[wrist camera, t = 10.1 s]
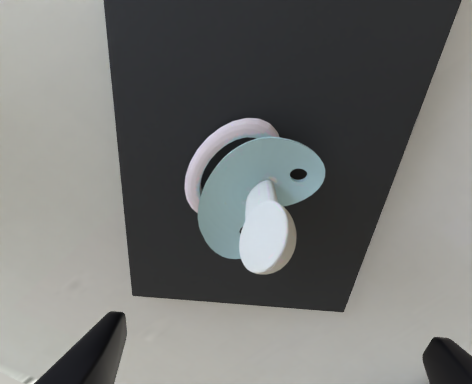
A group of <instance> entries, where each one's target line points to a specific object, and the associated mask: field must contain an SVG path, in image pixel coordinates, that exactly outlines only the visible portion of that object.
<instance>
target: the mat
mask: <svg viewBox="0 0 472 384" xmlns="http://www.w3.org/2000/svg"><path fill="white" fill-rule="evenodd" d="M460 3H461V0H104V8H105V18H106V29H107V39H108V49H109V60H110V70H111V80H112V90H113V101H114V111H115V121H116V132H117V142H118V152H119V162H120V173H121V183H122V193H123V204H124V214H125V224H126V234H127V245H128V255H129V265H130V275H131V286H132V295H133V296H143V297H156V298H169V299H181V300H194V301H207V302H220V303H232V304H245V305H258V306H271V307H283V308H296V309H309V310H322V311H335V312H344V309H345V307H346V304H347V302H348V299H349V296H350V294H351V291H352V288H353V286H354V283H355V280H356V278H357V275H358V272H359V270H360V267H361V265H362V262H363V259H364V257H365V254H366V251H367V249H368V246H369V243H370V241H371V238H372V235H373V233H374V230H375V228H376V225H377V222H378V220H379V217H380V214H381V212H382V209H383V206H384V204H385V201H386V198H387V196H388V193H389V191H390V188H391V185H392V183H393V180H394V177H395V175H396V172H397V169H398V167H399V164H400V161H401V159H402V156H403V154H404V151H405V148H406V146H407V143H408V140H409V138H410V135H411V132H412V130H413V127H414V124H415V122H416V119H417V117H418V114H419V111H420V109H421V106H422V103H423V101H424V98H425V95H426V93H427V90H428V87H429V85H430V82H431V79H432V77H433V74H434V72H435V69H436V66H437V64H438V61H439V58H440V56H441V53H442V50H443V48H444V45H445V42H446V40H447V37H448V35H449V32H450V29H451V27H452V24H453V21H454V19H455V16H456V13H457V11H458V8H459V5H460ZM244 118H257V119H261V120H264V121H266V122H268V123H270V124H271V125H272V126H273V127H274V128H275V130H276V131H277V132H278V134H279V137H280V138H285V139H290V140H293V141H297V142H299V143H301V144H303V145H305V146H307V147H309V148H310V149H311V150H313V151H314V152H315V153H316V154H317V155H318V156H319V157H320V159H321V161H322V162H323V164H324V167H325V178H324V181H323V183H322V185H321V186H320V188H319V189H318V190H317V191H316V192H315V193H313V194H312V195H311V196H309V197H308V198H306V199H304V200H302V201H300V202H298V203H295V204H292V205H288V206H284V208H285V209H286V210H287V211H288V212H289V214H290V215H291V217H292V219H293V221H294V224H295V228H296V246H295V250H294V253H293V255H292V257H291V258H290V260H289V261H288V263H287V264H286V265H285V266H284V267H282V268H281V269H280V270H278V271H276V272H274V273H271V274H256V273H253V272H251V271H249V270H248V269H247V268H246V267H245V266H244V264H243V262H242V260H241V259H229V258H225V257H222V256H221V255H219V254H217V253H215V252H214V251H213V250H212V249H211V248H210V247H209V245H208V244H207V243H206V241H205V239H204V237H203V235H202V233H201V231H200V228H199V223H198V213H197V212H195V211H194V210H193V209H192V208H191V206H190V204H189V203H188V201H187V199H186V194H185V189H184V188H185V176H186V173H187V170H188V167H189V163H190V161H191V160H192V158H193V156H194V154H195V153H196V151H197V149H198V148H199V147H200V146H201V145H202V143H203V142H204V141H205V140H206V139H207V138H208V137H209V136H210V135H211V134H213V133H214V132H215V131H216V130H218V129H219V128H220V127H222V126H224V125H226V124H228V123H230V122H232V121H235V120H240V119H244ZM254 139H257V138H250V137H245V138H241V139H237V140H235V141H233V142H231V143H229V144H227V145H226V146H224V147H223V148H222V149H220V150H219V151H218V152H217V153H216V154H215V155H214V156H213V157H212V159H211V160H210V161H209V163H208V164H207V166H206V168H205V169H204V172H203V174H202V179H201V189H202V191H203V188H204V186H205V183H206V181H207V180H208V178H209V176H210V175H211V173H212V171H213V170H214V169H215V167H216V166H217V165H218V163H219V162H220V161H221V160H222V159H223V158H224V157H225V156H226V155H227V154H228V153H230V152H231V151H232V150H234V149H235V148H236V147H238V146H240V145H242V144H244V143H246V142H248V141H251V140H254ZM306 175H307V172H306V171H305V170H303V169H294V170H292V171H291V172H290V176H291V177H292V178H293V179H296V180H301V179H303V178H305V177H306ZM242 228H243V226H242ZM242 228H241V229H240V231H239V233H240V235H241V231H242Z"/></svg>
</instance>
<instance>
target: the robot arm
mask: <svg viewBox="0 0 472 384" xmlns="http://www.w3.org/2000/svg"><path fill="white" fill-rule="evenodd" d="M126 336H127V327H126V318H125V314H124V313H123V312H113V311H112V312H109V313H107V314H106V315H105V316H104V317H103V318H102V319H101V320H100V321H99V322H98V323H97V324H96V325H95V326H94V327H93V328H92V329H91V330H90V331H89V332H88V333H86V334H85V335H84V336H83V337H82V338H81V339H80V340H79V341H78V342H77V343H76V344H75V345H74V346H73V347H72V348H71V349H70V350H69V351H68V352H67V353H66V354H65V355H64V356H63V357H61V358H60V359H59V360H58V361H57V362H56V363H55V364H54V365H53V366H52V367H51V368H50V369H49V370H48V371H47V372H46V373H45V374H44V375H43V376H42V377H41V378H40V379H39V380H37V381H36V382H35V383H34V384H114V382H115V378H116V374H117V370H118V367H119V363H120V359H121V356H122V352H123V348H124V345H125V341H126ZM423 363H424V367H425V370H426V373H427V376H428V379H429V382H430V384H472V356H471V355H469V354H468V353H467V352H466V351H465V350H463V349H462V348H461V347H460V346H459V345H457V344H456V343H455V342H454V341H452V340H451V339H449V338H442V337H435V338H433V339H432V340H431V342H430V343H429V345H428V347H427V348H426V350H425V351H424V353H423Z"/></svg>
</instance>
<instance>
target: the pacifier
mask: <svg viewBox="0 0 472 384" xmlns="http://www.w3.org/2000/svg"><path fill="white" fill-rule="evenodd" d="M245 137H250V138H257V139H254V140H251V141H248V142H246V143H244V144H242V145H240V146H238V147H236V148H235V149H234V150H232V151H231V152H230V153H228V154H227V155H226V156H225V157H224V158H223V159H222V160H221V161H220V162H219V163H218V165H217V166H216V167H215V169H214V170H213V171H212V173H211V175H210V176H209V178H208V180H207V181H206V183H205V186H204V188H203V191H202V189H201V179H202V174H203V172H204V169H205V168H206V166H207V164H208V163H209V161H210V160H211V159H212V157H213V156H214V155H215V154H216V153H217V152H218V151H219V150H220V149H222V148H223V147H224V146H226V145H227V144H229V143H231V142H233V141H235V140H237V139H241V138H245ZM294 169H303V170H305V171H306V172H307V175H306V177H305V178H303V179H301V180H296V179H293V178H292V177H291V176H290V172H291V171H292V170H294ZM324 178H325V167H324V164H323V162H322V161H321V159H320V157H319V156H318V155H317V154H316V153H315V152H314V151H313V150H311V149H310V148H309V147H307V146H305V145H303V144H301V143H299V142H297V141H293V140H290V139H285V138H280V137H279V134H278V132H277V131H276V130H275V128H274V127H273V126H272V125H271V124H270V123H268V122H266V121H264V120H261V119H257V118H244V119H240V120H235V121H232V122H230V123H228V124H226V125H224V126H222V127H220V128H219V129H218V130H216V131H215V132H214V133H213V134H211V135H210V136H209V137H208V138H207V139H206V140H205V141H204V142H203V143H202V145H201V146H200V147H199V148H198V149H197V151H196V153H195V154H194V156H193V158H192V160H191V161H190V163H189V167H188V170H187V173H186V176H185V188H184V189H185V194H186V199H187V201H188V203H189V204H190V206H191V208H192V209H193V210H194V211H195V212H197V213H198V223H199V228H200V231H201V233H202V235H203V237H204V239H205V241H206V243H207V244H208V245H209V247H210V248H211V249H212V250H213V251H214V252H215V253H217V254H219V255H221V256H222V257H225V258H229V259H241V260H242V262H243V264H244V266H245V267H246V268H247V269H248V270H249V271H251V272H253V273H256V274H271V273H274V272H276V271H278V270H280V269H281V268H282V267H284V266H285V265H286V264H287V263H288V261H289V260H290V258H291V257H292V255H293V253H294V250H295V246H296V228H295V224H294V221H293V219H292V217H291V215H290V214H289V212H288V211H287V210H286V209H285V208H284V206H288V205H292V204H295V203H298V202H300V201H302V200H304V199H306V198H308V197H309V196H311V195H312V194H313V193H315V192H316V191H317V190H318V189H319V188H320V186H321V185H322V183H323V181H324ZM242 226H243V228H242ZM241 228H242V231H241V235H240V233H239V231H240V229H241Z"/></svg>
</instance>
